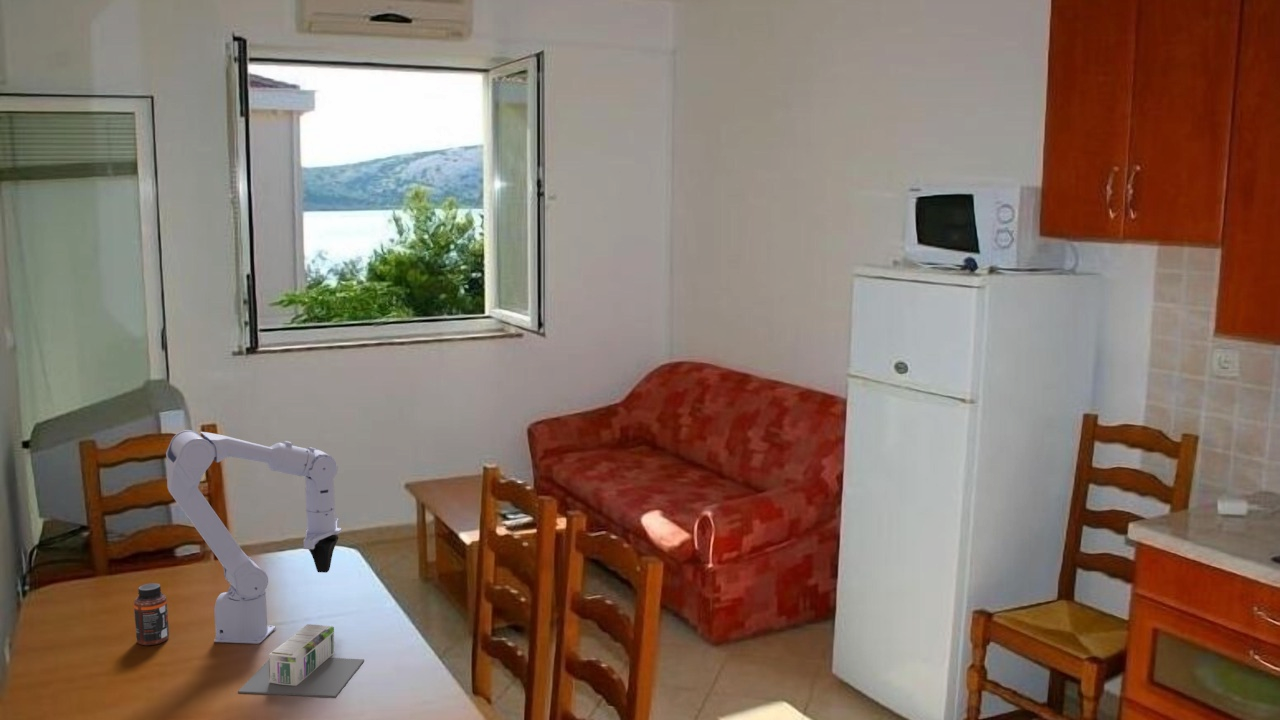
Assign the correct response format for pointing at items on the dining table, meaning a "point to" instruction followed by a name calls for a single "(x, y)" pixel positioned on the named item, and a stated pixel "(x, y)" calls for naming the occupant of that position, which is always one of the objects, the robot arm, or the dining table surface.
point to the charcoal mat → (307, 680)
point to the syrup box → (301, 654)
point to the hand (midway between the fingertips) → (323, 571)
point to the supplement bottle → (151, 615)
